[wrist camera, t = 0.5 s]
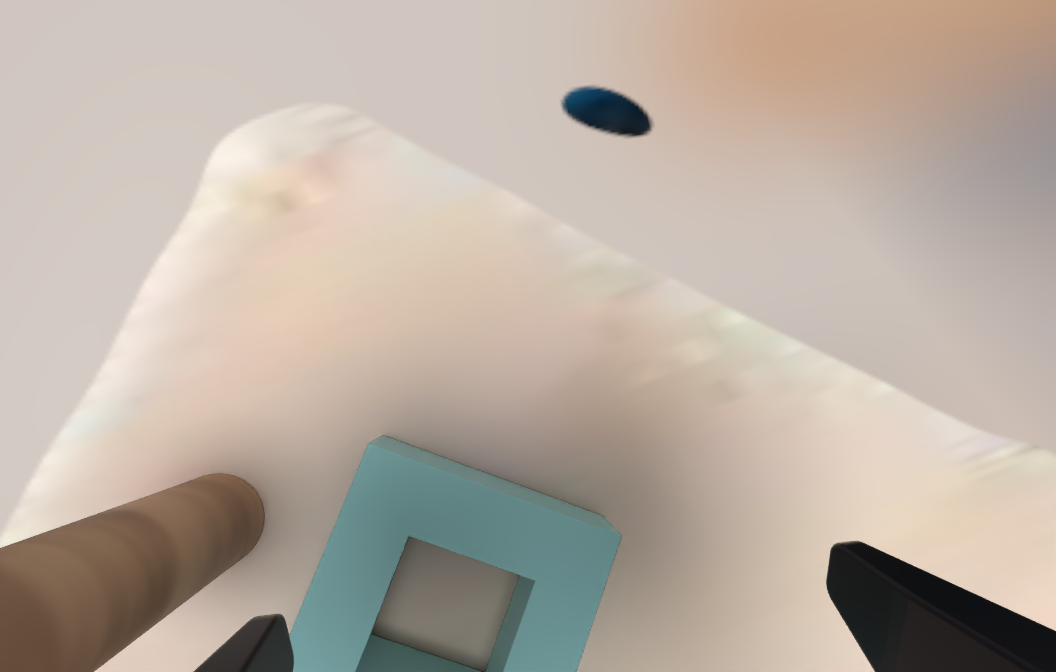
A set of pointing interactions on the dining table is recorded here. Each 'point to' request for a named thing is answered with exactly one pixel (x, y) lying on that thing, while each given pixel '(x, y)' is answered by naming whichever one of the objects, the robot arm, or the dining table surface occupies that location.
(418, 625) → the dining table surface
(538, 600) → the socket block
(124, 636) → the walnut pin
